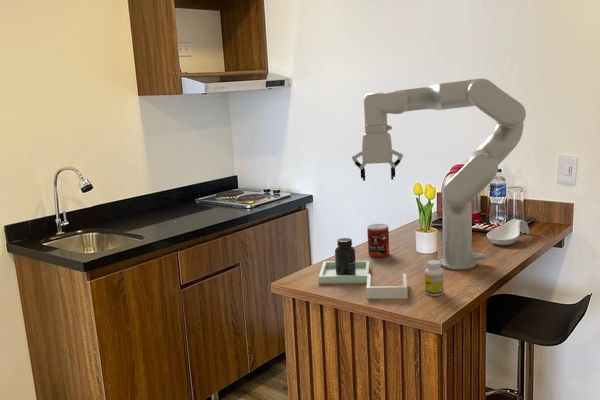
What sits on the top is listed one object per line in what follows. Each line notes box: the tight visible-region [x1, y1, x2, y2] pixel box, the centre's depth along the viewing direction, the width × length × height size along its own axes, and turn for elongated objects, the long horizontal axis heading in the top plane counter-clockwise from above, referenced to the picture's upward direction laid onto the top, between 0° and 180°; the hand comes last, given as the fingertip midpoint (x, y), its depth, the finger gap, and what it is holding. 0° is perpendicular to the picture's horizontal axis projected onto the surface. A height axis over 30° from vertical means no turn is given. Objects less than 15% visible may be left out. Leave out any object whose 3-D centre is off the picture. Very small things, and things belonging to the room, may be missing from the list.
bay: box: [365, 272, 409, 300], centre depth 178 cm, size 12×12×4 cm
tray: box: [318, 260, 371, 285], centre depth 195 cm, size 16×16×2 cm
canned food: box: [366, 223, 390, 259], centre depth 215 cm, size 8×8×11 cm
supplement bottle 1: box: [334, 237, 357, 275], centre depth 194 cm, size 7×7×12 cm
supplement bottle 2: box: [424, 259, 445, 297], centre depth 173 cm, size 5×5×10 cm
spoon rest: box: [486, 218, 530, 246], centre depth 223 cm, size 24×12×7 cm, turn 135°
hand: (378, 179), depth 199 cm, fingers open, 9 cm apart
